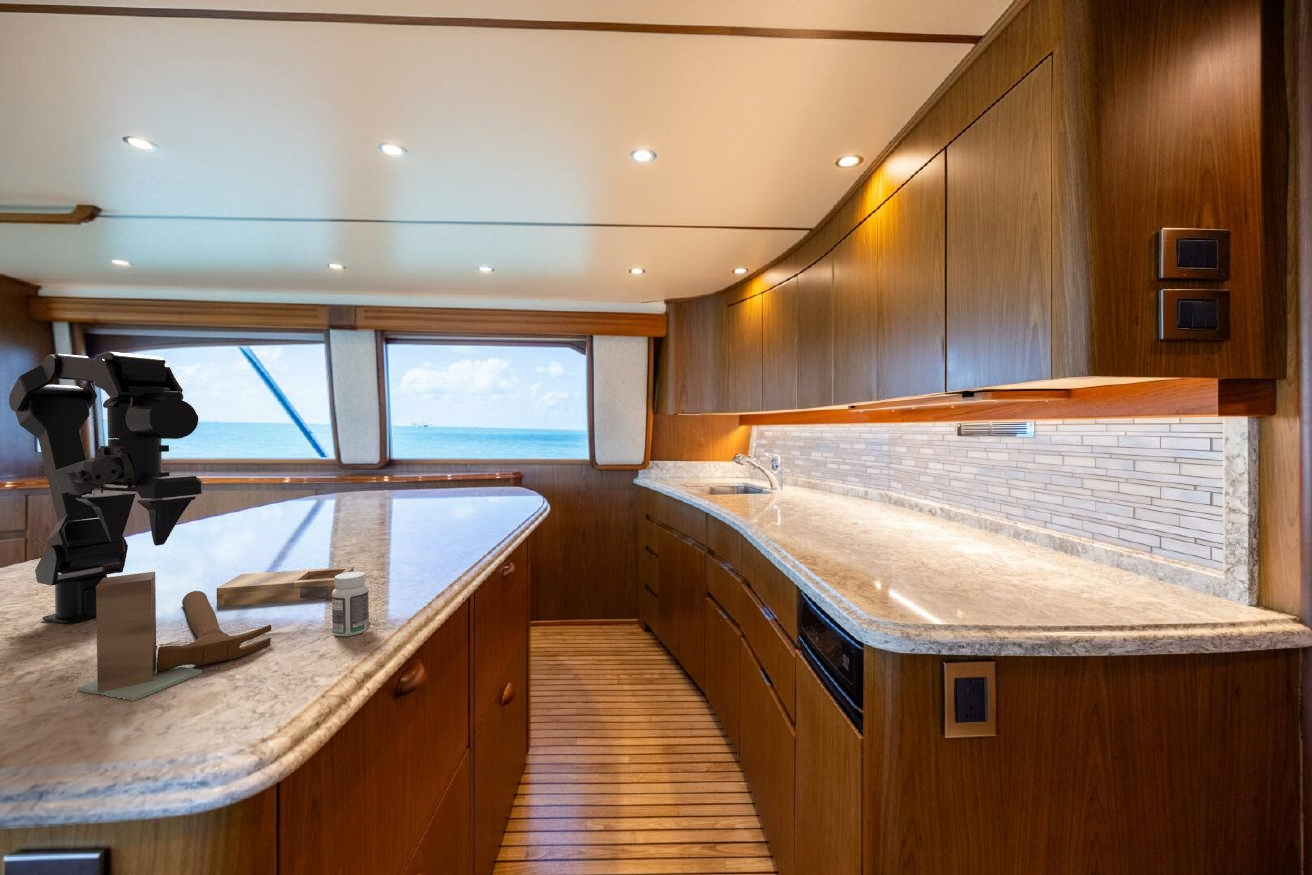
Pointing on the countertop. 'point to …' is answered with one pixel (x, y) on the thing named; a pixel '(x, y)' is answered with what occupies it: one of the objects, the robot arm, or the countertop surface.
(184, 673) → the rubber mat
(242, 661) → the countertop surface
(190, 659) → the hammer
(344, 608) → the pill bottle
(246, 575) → the slotted wooden slab
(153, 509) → the robot arm
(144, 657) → the brown wooden block
